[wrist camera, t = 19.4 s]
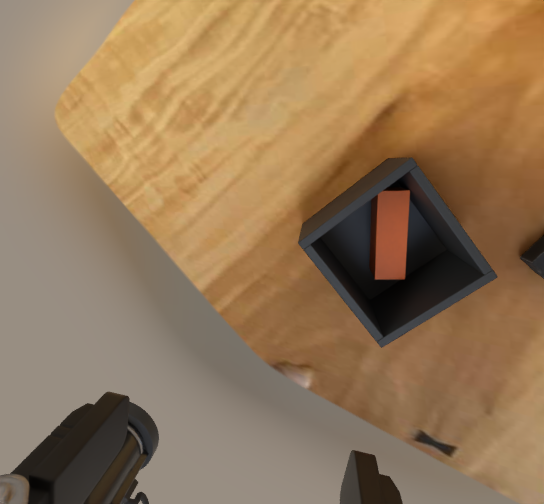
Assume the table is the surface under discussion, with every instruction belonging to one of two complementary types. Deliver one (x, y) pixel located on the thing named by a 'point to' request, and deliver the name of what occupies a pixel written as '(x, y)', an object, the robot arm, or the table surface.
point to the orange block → (389, 233)
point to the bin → (419, 259)
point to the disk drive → (535, 257)
